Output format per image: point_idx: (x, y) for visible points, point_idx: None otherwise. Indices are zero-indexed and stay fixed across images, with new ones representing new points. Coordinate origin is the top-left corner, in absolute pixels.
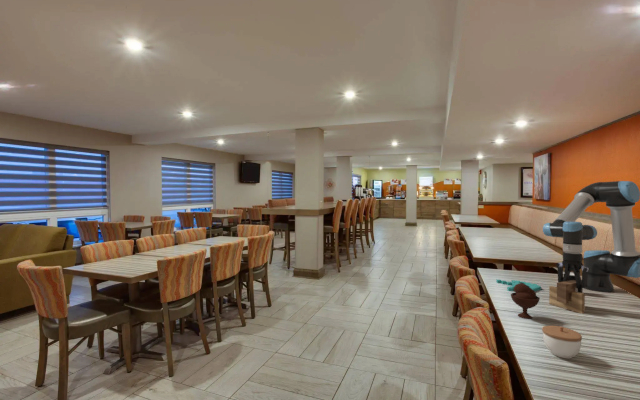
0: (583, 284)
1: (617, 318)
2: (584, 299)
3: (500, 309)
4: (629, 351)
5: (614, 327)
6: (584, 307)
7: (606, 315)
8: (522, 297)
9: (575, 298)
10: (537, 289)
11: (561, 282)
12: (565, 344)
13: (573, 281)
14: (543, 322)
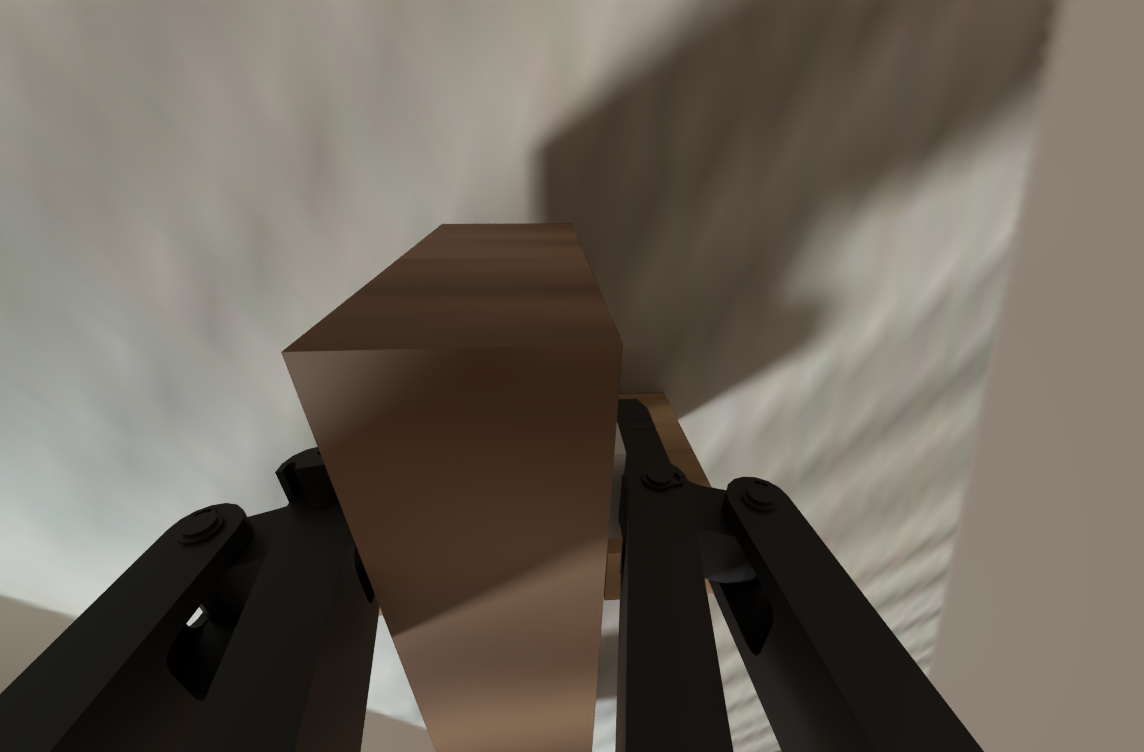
0: (766, 623)
1: (889, 284)
2: (709, 486)
3: (407, 715)
4: (918, 659)
5: (872, 498)
6: (678, 425)
7: (806, 286)
8: None
9: None
10: None
11: (458, 749)
12: None
13: (472, 543)
14: (615, 686)
